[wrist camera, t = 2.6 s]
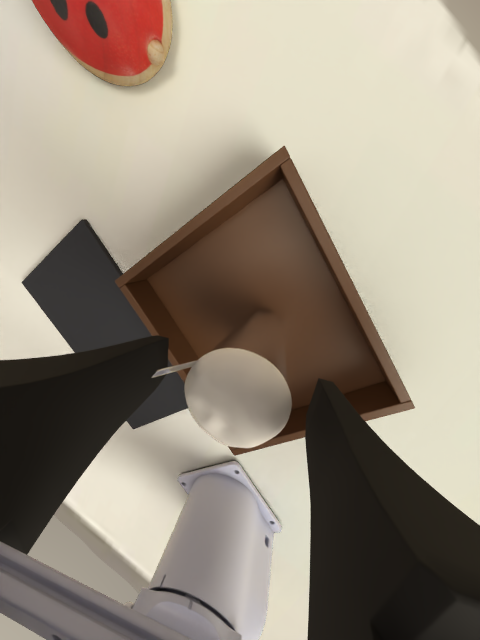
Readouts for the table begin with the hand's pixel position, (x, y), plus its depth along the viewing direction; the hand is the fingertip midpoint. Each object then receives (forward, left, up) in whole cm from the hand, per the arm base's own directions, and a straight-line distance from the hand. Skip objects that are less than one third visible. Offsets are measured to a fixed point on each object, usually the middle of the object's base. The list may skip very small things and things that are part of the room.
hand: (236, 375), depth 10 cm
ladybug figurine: (+21, -2, -7) cm, 22 cm away
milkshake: (0, 0, -7) cm, 7 cm away
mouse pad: (+5, +13, -7) cm, 16 cm away
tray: (0, 0, -7) cm, 7 cm away
